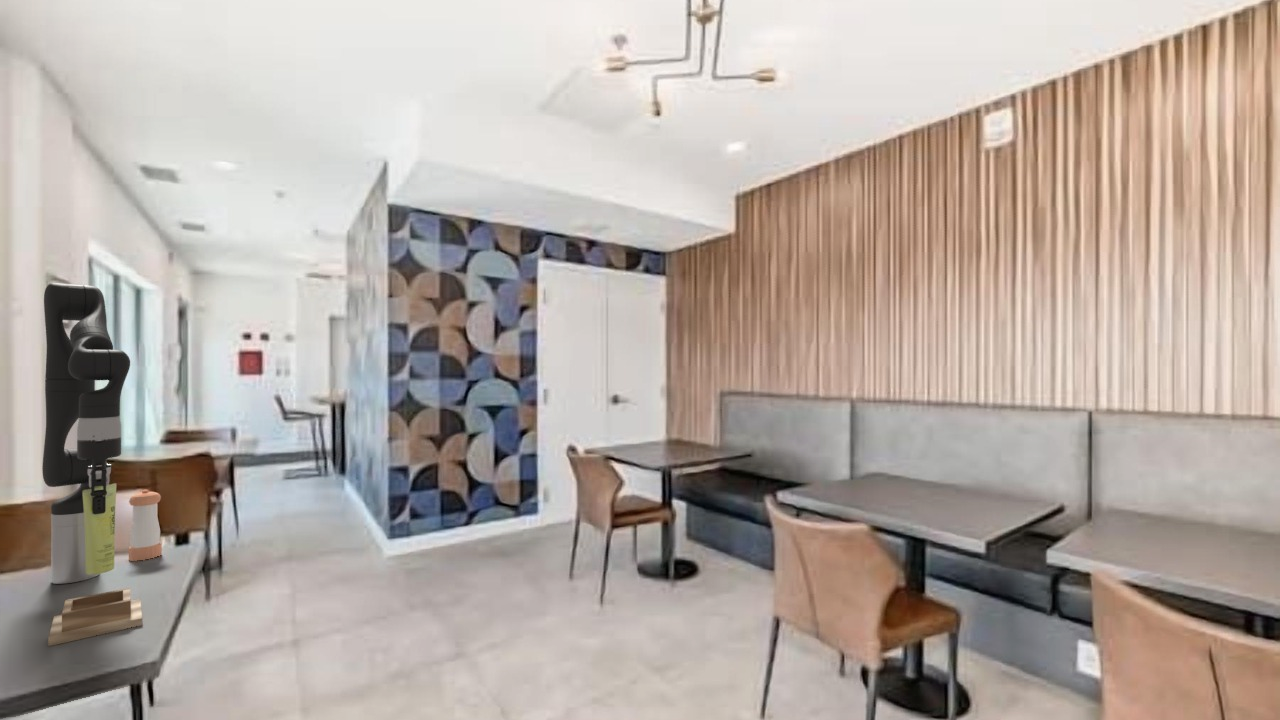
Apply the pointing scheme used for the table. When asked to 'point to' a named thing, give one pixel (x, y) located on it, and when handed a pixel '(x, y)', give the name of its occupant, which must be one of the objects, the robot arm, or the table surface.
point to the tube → (99, 533)
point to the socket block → (95, 616)
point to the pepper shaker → (145, 526)
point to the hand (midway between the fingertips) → (99, 510)
